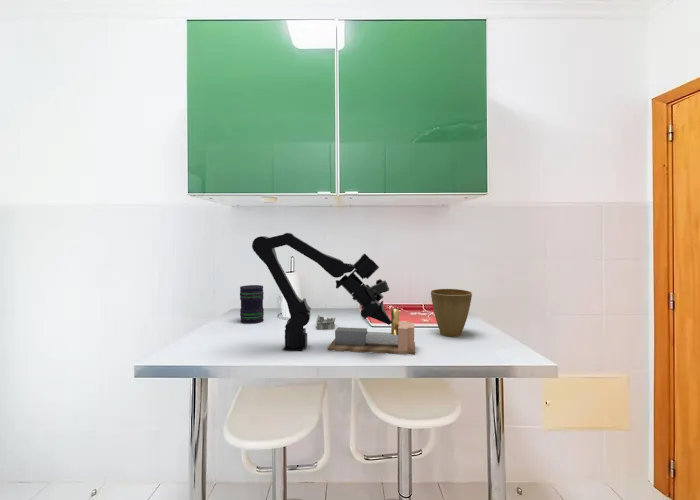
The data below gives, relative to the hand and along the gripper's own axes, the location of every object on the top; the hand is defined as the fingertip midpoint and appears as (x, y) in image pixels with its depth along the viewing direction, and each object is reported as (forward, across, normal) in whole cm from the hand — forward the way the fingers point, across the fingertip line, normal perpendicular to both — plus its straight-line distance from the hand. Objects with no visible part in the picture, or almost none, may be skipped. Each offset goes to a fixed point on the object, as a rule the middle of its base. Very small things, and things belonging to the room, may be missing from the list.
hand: (390, 323), depth 130 cm
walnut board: (+2, 0, +10) cm, 10 cm away
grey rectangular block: (-4, 0, +14) cm, 15 cm away
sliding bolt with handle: (+3, 0, +6) cm, 7 cm away
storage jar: (-37, +31, +49) cm, 69 cm away
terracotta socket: (+9, 0, +1) cm, 9 cm away
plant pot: (+21, +22, -9) cm, 31 cm away
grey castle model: (-13, +27, +26) cm, 39 cm away
